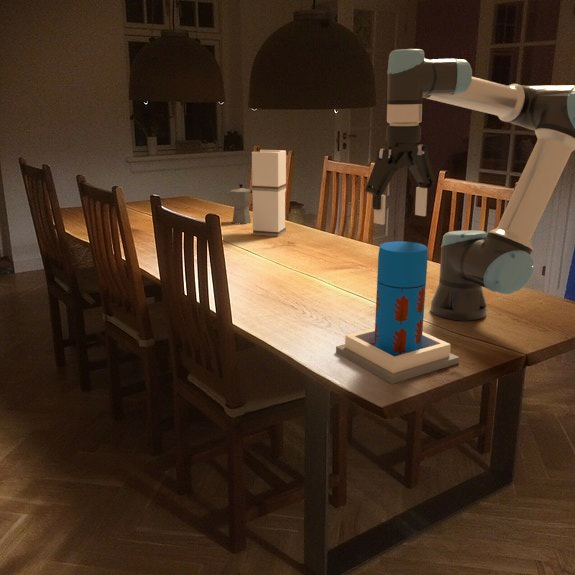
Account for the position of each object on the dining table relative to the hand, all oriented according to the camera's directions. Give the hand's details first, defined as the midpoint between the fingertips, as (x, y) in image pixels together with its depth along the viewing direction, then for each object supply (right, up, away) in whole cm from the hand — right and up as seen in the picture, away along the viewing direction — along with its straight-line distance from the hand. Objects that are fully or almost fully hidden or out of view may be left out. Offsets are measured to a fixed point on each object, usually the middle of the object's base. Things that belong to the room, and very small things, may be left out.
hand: (400, 219), depth 145 cm
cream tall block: (-34, +8, +129) cm, 133 cm away
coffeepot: (-47, +15, +152) cm, 159 cm away
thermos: (0, -31, +2) cm, 31 cm away
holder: (-1, -32, +2) cm, 32 cm away
